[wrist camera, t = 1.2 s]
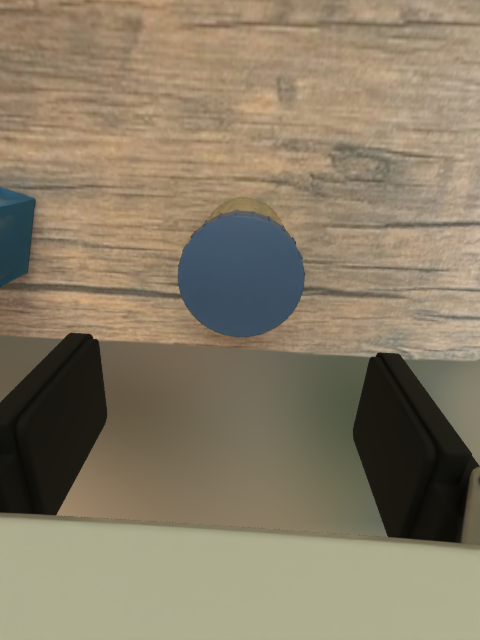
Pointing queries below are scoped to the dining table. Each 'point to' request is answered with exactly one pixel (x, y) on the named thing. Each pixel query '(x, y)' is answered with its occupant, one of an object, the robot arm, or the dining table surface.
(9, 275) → the perfume bottle
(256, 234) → the lid
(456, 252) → the dining table surface
